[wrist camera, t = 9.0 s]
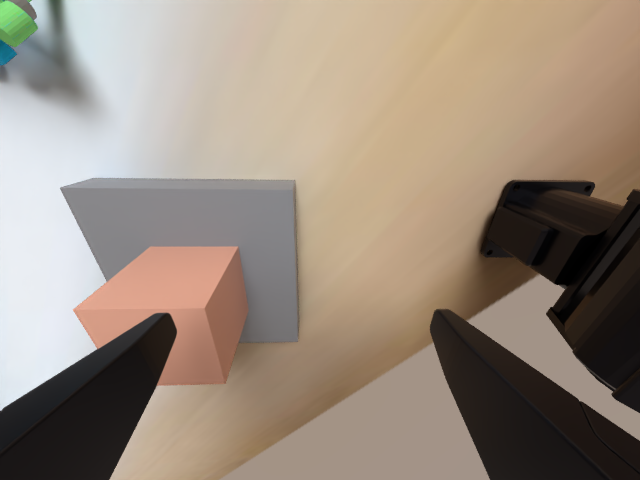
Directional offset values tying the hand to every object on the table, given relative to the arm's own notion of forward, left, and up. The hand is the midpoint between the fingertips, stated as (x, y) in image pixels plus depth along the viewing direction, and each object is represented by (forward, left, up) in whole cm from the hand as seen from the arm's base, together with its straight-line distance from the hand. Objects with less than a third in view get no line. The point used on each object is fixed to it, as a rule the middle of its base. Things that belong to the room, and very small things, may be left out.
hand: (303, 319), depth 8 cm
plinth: (+8, +5, -11) cm, 15 cm away
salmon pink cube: (+8, +5, -9) cm, 13 cm away
